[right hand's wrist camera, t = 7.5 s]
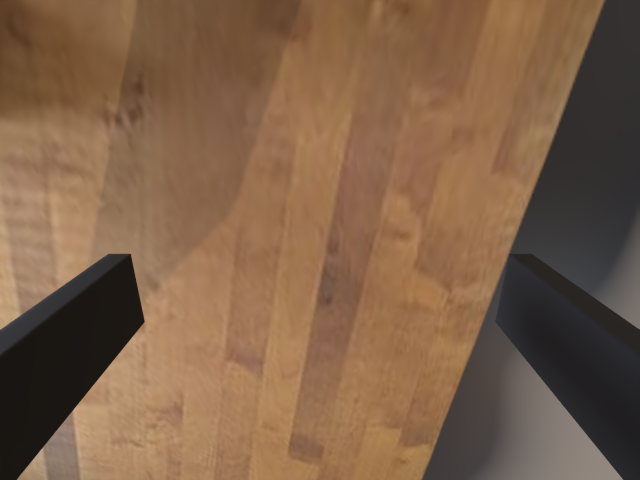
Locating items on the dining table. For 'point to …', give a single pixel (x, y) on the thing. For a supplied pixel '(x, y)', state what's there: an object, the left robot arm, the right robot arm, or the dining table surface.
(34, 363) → the right robot arm
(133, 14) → the dining table surface
